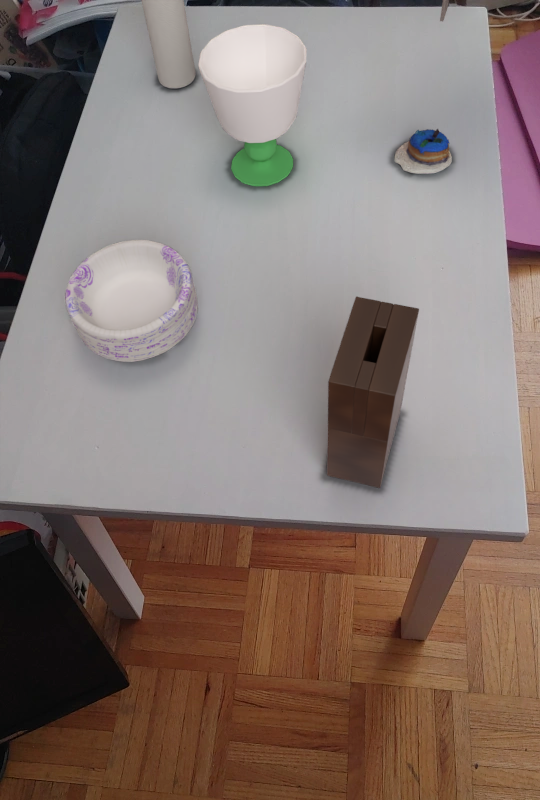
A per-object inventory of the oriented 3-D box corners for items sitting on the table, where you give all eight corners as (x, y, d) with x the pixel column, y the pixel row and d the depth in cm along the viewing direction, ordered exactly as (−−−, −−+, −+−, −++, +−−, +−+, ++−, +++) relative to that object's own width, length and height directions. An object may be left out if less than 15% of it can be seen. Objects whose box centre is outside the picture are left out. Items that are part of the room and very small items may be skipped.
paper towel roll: (187, 92, 110) (159, -64, 91) (152, 86, 111) (117, -68, 92) (204, 64, 113) (180, -92, 94) (170, 59, 114) (139, -97, 95)
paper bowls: (71, 305, 91) (50, 260, 84) (181, 268, 93) (170, 222, 86) (99, 394, 84) (79, 353, 77) (218, 353, 86) (209, 310, 79)
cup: (203, 192, 99) (184, 86, 85) (229, 129, 105) (214, 19, 91) (298, 203, 97) (293, 96, 83) (318, 138, 103) (317, 27, 89)
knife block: (326, 475, 77) (328, 381, 61) (349, 402, 82) (355, 296, 66) (380, 488, 76) (395, 396, 60) (400, 413, 80) (419, 308, 64)
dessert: (464, 145, 99) (455, 128, 93) (443, 191, 100) (433, 177, 95) (414, 130, 102) (403, 113, 96) (394, 175, 103) (382, 160, 98)
